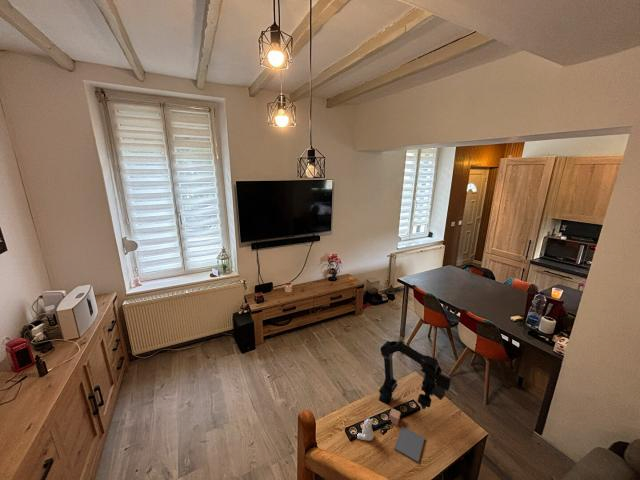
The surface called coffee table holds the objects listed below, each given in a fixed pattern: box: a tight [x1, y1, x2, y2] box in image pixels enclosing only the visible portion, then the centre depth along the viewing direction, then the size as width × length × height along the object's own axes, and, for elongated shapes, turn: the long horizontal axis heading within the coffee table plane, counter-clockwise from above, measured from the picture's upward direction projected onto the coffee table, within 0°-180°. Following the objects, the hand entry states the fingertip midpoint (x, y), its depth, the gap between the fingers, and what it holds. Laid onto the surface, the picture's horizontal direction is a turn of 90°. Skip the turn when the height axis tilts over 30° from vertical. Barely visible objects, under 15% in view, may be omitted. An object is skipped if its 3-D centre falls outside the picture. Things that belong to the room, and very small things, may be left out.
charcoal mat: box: [393, 425, 425, 464], centre depth 138 cm, size 12×14×1 cm
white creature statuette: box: [356, 418, 375, 442], centre depth 141 cm, size 10×9×12 cm
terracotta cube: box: [388, 408, 401, 426], centre depth 150 cm, size 5×5×5 cm
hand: (425, 402), depth 147 cm, fingers open, 9 cm apart
